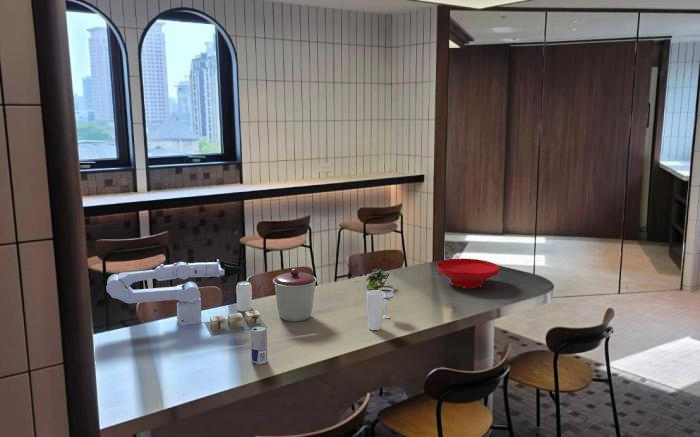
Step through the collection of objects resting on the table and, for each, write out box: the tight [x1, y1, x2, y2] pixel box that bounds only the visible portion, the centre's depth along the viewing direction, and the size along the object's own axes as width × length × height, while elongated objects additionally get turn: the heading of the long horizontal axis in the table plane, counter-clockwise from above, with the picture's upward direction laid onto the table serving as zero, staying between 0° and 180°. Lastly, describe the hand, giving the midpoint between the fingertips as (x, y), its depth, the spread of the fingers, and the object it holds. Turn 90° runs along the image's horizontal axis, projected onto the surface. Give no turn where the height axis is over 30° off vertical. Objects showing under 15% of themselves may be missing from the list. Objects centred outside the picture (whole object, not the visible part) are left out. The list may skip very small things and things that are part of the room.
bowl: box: [436, 258, 500, 289], centre depth 283 cm, size 30×30×10 cm
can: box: [235, 280, 253, 312], centre depth 243 cm, size 6×6×12 cm
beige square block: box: [209, 314, 226, 331], centre depth 221 cm, size 5×5×4 cm
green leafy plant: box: [365, 268, 390, 290], centre depth 276 cm, size 11×11×12 cm
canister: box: [272, 268, 318, 323], centre depth 233 cm, size 18×18×21 cm
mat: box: [203, 316, 269, 337], centre depth 225 cm, size 22×16×1 cm
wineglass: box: [377, 286, 395, 319], centre depth 235 cm, size 7×7×12 cm
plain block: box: [227, 312, 244, 328], centre depth 224 cm, size 5×5×4 cm
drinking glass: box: [365, 289, 385, 331], centre depth 222 cm, size 7×7×15 cm
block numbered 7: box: [244, 310, 262, 326], centre depth 227 cm, size 5×5×4 cm
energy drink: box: [250, 326, 268, 366], centre depth 191 cm, size 5×5×12 cm
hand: (239, 268), depth 233 cm, fingers open, 7 cm apart
